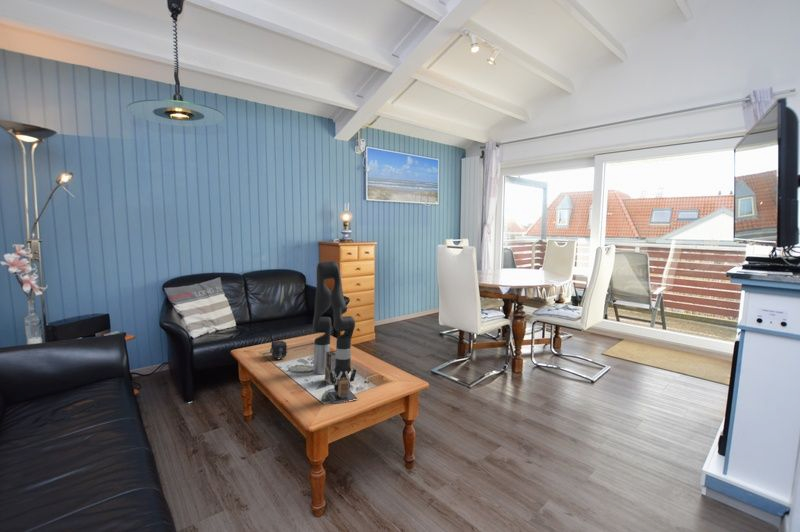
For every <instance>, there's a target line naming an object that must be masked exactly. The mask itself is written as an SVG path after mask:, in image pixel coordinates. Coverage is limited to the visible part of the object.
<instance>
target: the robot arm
mask: <svg viewBox="0 0 800 532" xmlns="http://www.w3.org/2000/svg"><path fill="white" fill-rule="evenodd" d="M331 279H333V280H334V284H333V288H332V291H331V290H330V289H329V287H328V286H327V285H326V284H325V280H331ZM315 288H316V289H315V298H314V313H313V314H314V315H313V320H312V330H313V333H324V334H322V335H320V336H319V337H316V338H314V349H313V351H314V353H313V373H314V374H316V375H325V363H326V352H330V351H331V332H332V324H333V328H334V330H336V331H337V332H343V333H342V334H339V335H338V336H337V337H336V347H335V351H336V357H335V369H334V370H333V371H329V377H330V381H331V383H332V384H331V385H333V390H334V392H335V391H336V392H338V380H340V378H342V377H347V379H348V380H349V390H350V388H351V383H352V382H354V380H355V377H356V373H357V369H355V368H354V367H353V368H351V362H352V361H351V358H352V350H351V349H352V348H351V347H352V338H353V334H354V331H355V328H356V320H355V319H354V317H353V316H348V315H346V316H342V315H343V314H345V313H347V311H348V307H347V303H346V300H345V297H344V292H343V287H342V279H341V272H340V268H339V264H338V262H336V261H335V260H332V261H330V260H329V261H322V262H319V263H317V265H316V287H315ZM331 307H332V308H331ZM329 308H331V309H332V312H333V323H332V318H331V317H330V316H322V315H324V313H326V312H327V311H328V310H329ZM334 373H336V377H335V380H334V379H333V375H334ZM350 373H351V374H350ZM349 374H350V375H349Z"/></svg>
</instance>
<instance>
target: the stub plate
mask: <svg viewBox="0 0 800 532" xmlns="http://www.w3.org/2000/svg"><path fill="white" fill-rule="evenodd" d="M326 396H327V398H328V400H330V402H331V403H332V404H333V405H336V403H337V404H340V403H339V402H344V401H349V400H353V399H357V400H358V397H357V396H356V395H355V394H354V393H353V392H352V391H351V390H350V389H349V395H347V396H340V397H339V396H338V395H337V393H336V392H335V391H330V392H326ZM344 403H345V402H344Z"/></svg>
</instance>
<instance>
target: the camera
mask: <svg viewBox="0 0 800 532" xmlns="http://www.w3.org/2000/svg"><path fill="white" fill-rule="evenodd" d="M270 344H271V345H270V346H271V348H270V349H269V352H270V354H272V357H273V358H274V359H276V358H281V359H284V358H286V356H287V354H288V351H287V341H284V340H274V341H273V340H272V341H271V343H270Z"/></svg>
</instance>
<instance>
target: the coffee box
mask: <svg viewBox="0 0 800 532" xmlns="http://www.w3.org/2000/svg"><path fill="white" fill-rule="evenodd" d="M335 357H336V350H330V352H326V363H325V374H324V380H325V382H326V383H328V384H329V385H330V386H331V385H333V384H332V383H331V381H330V377H329V371H333V370H334V369H335ZM335 377H336V373H334V375H333V379H334V380H335Z"/></svg>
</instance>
